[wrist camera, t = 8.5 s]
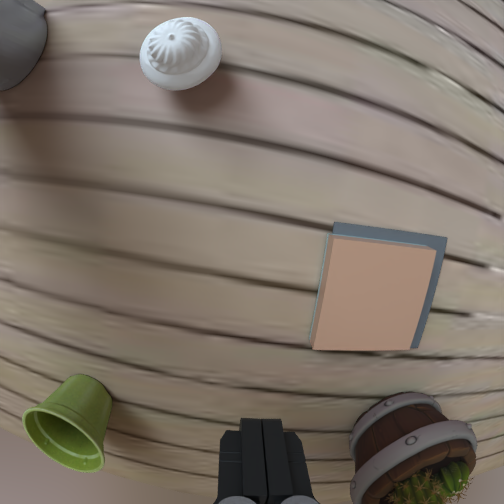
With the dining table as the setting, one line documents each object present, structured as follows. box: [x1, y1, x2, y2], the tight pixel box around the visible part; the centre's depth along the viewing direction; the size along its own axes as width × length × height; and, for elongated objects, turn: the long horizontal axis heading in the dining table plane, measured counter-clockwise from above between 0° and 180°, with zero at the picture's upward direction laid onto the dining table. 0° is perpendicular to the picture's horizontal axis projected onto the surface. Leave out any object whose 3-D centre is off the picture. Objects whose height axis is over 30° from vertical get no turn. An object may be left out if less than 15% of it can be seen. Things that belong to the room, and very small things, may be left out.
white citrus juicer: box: [140, 17, 222, 90], centre depth 20 cm, size 6×6×7 cm
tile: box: [309, 233, 436, 351], centre depth 27 cm, size 10×2×10 cm
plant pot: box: [22, 374, 112, 473], centre depth 27 cm, size 9×9×9 cm
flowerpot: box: [349, 392, 477, 504], centre depth 23 cm, size 14×15×20 cm
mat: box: [333, 222, 447, 348], centre depth 28 cm, size 12×12×1 cm
